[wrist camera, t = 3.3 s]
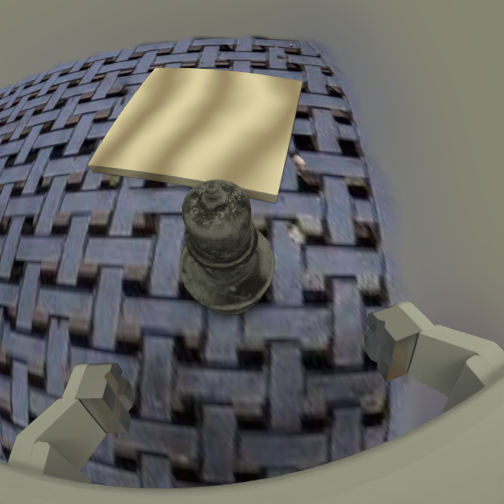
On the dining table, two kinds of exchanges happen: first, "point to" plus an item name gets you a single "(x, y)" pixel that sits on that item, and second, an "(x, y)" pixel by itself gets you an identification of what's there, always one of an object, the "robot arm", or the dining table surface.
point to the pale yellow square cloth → (204, 130)
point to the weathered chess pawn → (224, 249)
